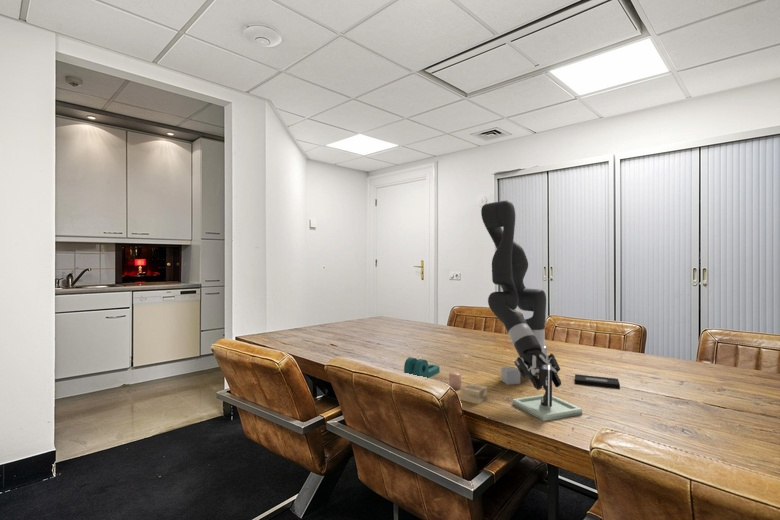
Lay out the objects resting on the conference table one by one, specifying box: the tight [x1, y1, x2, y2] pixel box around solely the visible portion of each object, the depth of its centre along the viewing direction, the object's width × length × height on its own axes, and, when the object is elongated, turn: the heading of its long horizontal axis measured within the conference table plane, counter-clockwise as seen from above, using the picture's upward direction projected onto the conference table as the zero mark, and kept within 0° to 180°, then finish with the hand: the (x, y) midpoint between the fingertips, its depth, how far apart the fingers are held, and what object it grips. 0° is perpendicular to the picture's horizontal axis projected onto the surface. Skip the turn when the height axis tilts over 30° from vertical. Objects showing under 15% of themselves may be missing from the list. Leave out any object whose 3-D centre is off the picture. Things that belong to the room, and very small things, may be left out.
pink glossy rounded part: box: [448, 371, 463, 390], centre depth 144 cm, size 4×4×5 cm
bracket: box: [403, 356, 441, 379], centre depth 160 cm, size 18×7×8 cm, turn 144°
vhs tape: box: [574, 373, 621, 390], centre depth 148 cm, size 8×14×2 cm, turn 65°
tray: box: [512, 394, 583, 422], centre depth 123 cm, size 14×14×2 cm
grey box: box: [500, 366, 521, 386], centre depth 150 cm, size 5×5×5 cm
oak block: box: [461, 383, 488, 405], centre depth 132 cm, size 6×6×4 cm
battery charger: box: [538, 365, 553, 407], centre depth 123 cm, size 7×4×11 cm, turn 159°
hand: (549, 387), depth 122 cm, fingers closed on battery charger, 6 cm apart
